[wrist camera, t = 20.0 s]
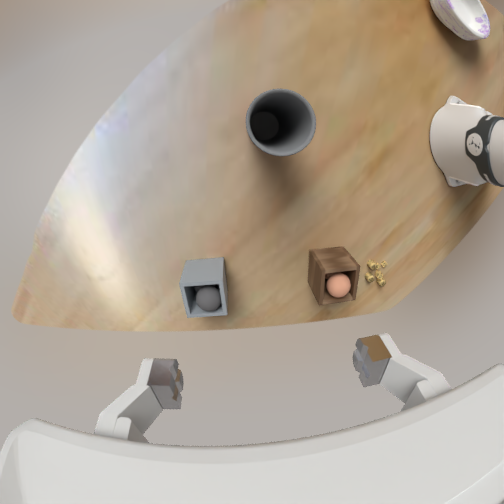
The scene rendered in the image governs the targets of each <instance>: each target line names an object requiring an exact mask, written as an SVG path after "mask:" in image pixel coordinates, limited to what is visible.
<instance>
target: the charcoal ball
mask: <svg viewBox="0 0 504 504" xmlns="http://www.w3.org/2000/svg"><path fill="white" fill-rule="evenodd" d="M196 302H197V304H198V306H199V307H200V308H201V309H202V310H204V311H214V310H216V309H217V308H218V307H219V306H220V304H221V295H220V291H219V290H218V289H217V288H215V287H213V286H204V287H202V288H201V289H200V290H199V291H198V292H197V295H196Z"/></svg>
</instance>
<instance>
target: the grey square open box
mask: <svg viewBox="0 0 504 504" xmlns="http://www.w3.org/2000/svg"><path fill="white" fill-rule="evenodd" d="M179 284H180V289H181V293H182V298H183V302H184V306H185V310H186V314H187V318H190V317H207V316H221V315H227V297H228V289H227V281H226V273H225V265H224V257H222V258H210V259H199V260H187V261H186V263H185V266H184V269H183V273H182V276H181V279H180V283H179ZM212 284H217V285H216V288H217V289H218V290H219V291H220V295H221V304H220V306H219V307H218V308H217V309H216V310H214V311H204V310H202V309H201V308H200V307H199V306H198V304H197V302H196V295H197V291H196V290H195V288H194V286H199V285H212Z"/></svg>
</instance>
